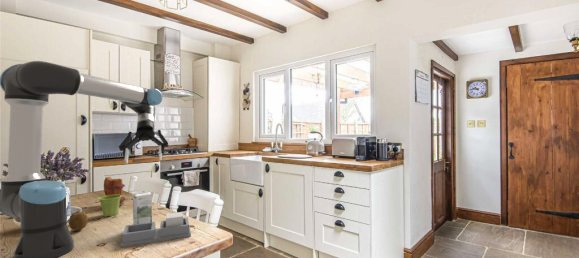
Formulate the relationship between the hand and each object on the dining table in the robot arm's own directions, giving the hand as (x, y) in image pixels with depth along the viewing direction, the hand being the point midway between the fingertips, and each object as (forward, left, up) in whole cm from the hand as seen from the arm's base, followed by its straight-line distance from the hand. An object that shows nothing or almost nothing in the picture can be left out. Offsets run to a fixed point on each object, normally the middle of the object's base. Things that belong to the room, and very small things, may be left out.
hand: (143, 160), depth 127 cm
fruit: (-24, -1, -27) cm, 36 cm away
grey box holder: (+6, -22, -27) cm, 35 cm away
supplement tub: (-36, +16, -27) cm, 48 cm away
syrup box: (0, -10, -27) cm, 29 cm away
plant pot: (-16, +18, -27) cm, 36 cm away
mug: (-18, +37, -27) cm, 49 cm away
